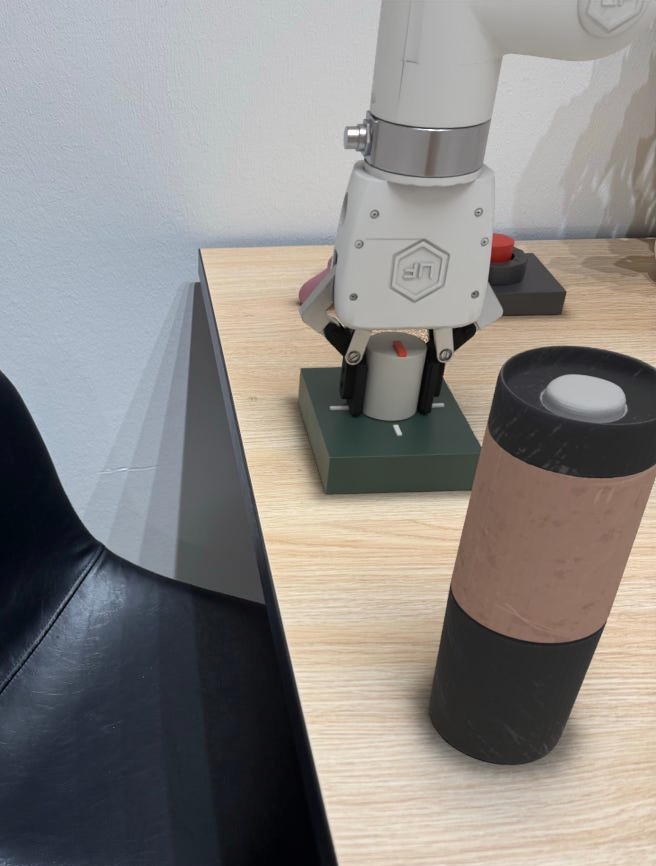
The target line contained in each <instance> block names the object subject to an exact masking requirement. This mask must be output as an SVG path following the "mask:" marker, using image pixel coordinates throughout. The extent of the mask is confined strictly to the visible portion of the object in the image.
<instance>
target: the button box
mask: <svg viewBox="0 0 656 866" xmlns="http://www.w3.org/2000/svg"><path fill="white" fill-rule="evenodd" d="M488 282H489V284H490V286H491V288H492V290H493V291H494V293H495V295H496V297H497V299H498V301H499V303H500V304H501V306H502V308H503V314H502V316H536V315H562V313H563V309H564V305H565V301H566V297H567V293H568V290H566V289H565V288H564V286H563V285H562V284H561V283H560V282H559V281H558V279H557V278H556V277H555V276H554V275H553V274H552V273H551V272H550V270H549V269H548V268H547V267H546V265H545V264H543V262H542V261H541V260H540V259H539V257H538V256H537V255H536V254H535V253H534V252H525V251H524V250H523V249H521V248H518V247H515V246H514V248H513V252H512V257H511V260H510V261H506V262H490V267H489V275H488Z"/></svg>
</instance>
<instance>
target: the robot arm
mask: <svg viewBox="0 0 656 866" xmlns="http://www.w3.org/2000/svg"><path fill="white" fill-rule="evenodd" d="M380 3H381V4H380V12H379V21H378V29H377V30H378V31H377V37H376V38H377V39H376V49H375V57H374V66H373V76H372V85H371V94H370V101H369V102H370V103H369V109H368V110H366V114H365V118H363V119H362V123H357V124H356V125H349V126H345V127H344V131H343V148H344V150H355V152H357V153H359V152H360V153H361V155H362V157H363V159H360V160H357V161H356V162H355V163H354V164H353V167H352V170H351V173H350V176H349V179H348V183H347V186H346V189H345V193H344V197H343V201H342V205H341V209H340V214H339V219H338V223H337V227H336V234H335V240H334V244H333V251H332V255H333V256H331V257H332V262H331V270H330V271H329V272H328V273H327V275H326V276H325V277H324V278H323V280H322V281H321V282H320V283H319V284H318V286H317V287H316V288H315V289H314V291H313V292H312V293H311V294H310V295H309V297H308V298H307V299H306V300H305V302H304V303H303V304H302V303H301V305H300V307H299V308H298V309H299V310H298V312H299V315H300V318H301V321H302V322H303V323H304V324H305V325H306V326H308V327H309V328H311V329H313V331H315V332H316V333H318V334H320V335H321V336H323V337H324V338H325V339H326V341H327V342H328V343H329V344H330V345H331V346H332V347H333V348H334V349H335V350H336V351H337V352H338V353H339V354H340V356H342V360H341V367H342V368H341V377H340V386H339V392H340V397H341V399H346V401H347V403H348V406H349V409H350V411H351V414H352V415H360V413H362V411H363V404H364V396H365V388H366V381H367V373H368V365H367V363H366V361H365V359H364V356H365V354H364V352H365V349H366V346H367V344H368V341H369V338H370V336H371V335H372V332H373V331H406V330H407V331H408V330H409V331H410V330H426V332H427V333H426V334H427V341H425V343H426V345H427V351H426V357H425V363H424V369H423V375H422V381H421V387H420V393H419V399H418V405H417V406H418V408H419V410H420V411H422V413H431V409H432V404H433V398H434V397H439V395H440V391H441V386H442V380H443V378H444V375H445V369H446V364H447V363H448V362H451V361H452V360H453V358H454V356H455V352H456V351H458V350H459V349H460V348H461V347H463V346H464V345H465V344H466V343H467V342H469V341H470V340H471V339H472V338H473V337H474V336H475V335H476V334H477V332H478V331H481V330H484V329H485V328H486V327H488V326H489V325H491V324H493V323H494V322H495V321H497V320H499V319H501V317H502V316H503V315H502V314H503V308H502V306H501V304H500V303H499V301H498V299H497V297H496V295H495V293H494V291H493V290H492V288H491V286H490V284H489V282H488V275H489V267H490V257H491V248H492V237H493V233H494V222H495V208H496V207H495V206H496V205H495V204H496V175H495V174H496V173H495V171H494V170H493V169H492V168H490V167H489V166H488V165H486V164H485V163H484V161H485V160H484V159H485V155H486V150H487V144H488V139H489V135H490V129H491V123H492V117H493V113H494V106H495V103H496V95H497V91H498V85H499V79H500V74H501V69H502V63H503V57H504V56H506V55H511V54H512V55H521V56H531V57H537V58H545V59H550V60H557V61H566V62H589V61H595V60H600V59H603V58H607V57H609V56H611V55H614V54H616V53H618V52H620V51H622V50H624V49H626V48H627V47H629V46H630V45H631V44H633V43H634V42H635V41H636V40H637V39H639V38H640V37H641V36H642V35H643V34H644V33H645V32H646V31H647V30H648V29H649V28H650V26H651V25H652V24H653V22H655V19H656V0H381V2H380ZM332 304H334V312H335V315H336V317H337V318H336V317H333V316H331V315H330V314H329V313H328V312H327V310H328V309H329V308H330V307H331V305H332Z"/></svg>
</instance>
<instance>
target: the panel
mask: <svg viewBox="0 0 656 866" xmlns="http://www.w3.org/2000/svg"><path fill="white" fill-rule="evenodd" d="M341 368H342V366H326V367H325V366H324V367H323V366H322V367H321V366H320V367H300V370H299V383H298V394H297V404H298V408H299V410H300V414H301V417H302V420H303V423H304V426H305V430H306V433H307V436H308V439H309V443H310V446H311V449H312V452H313V456H314V458H315V462H316V466H317V469H318V472H319V476H320V478H321V482H322V485H323V489H324V492H325V494H326V495H336V494H337V495H338V494H340V495H342V494H343V495H344V494H370V493H371V494H373V493H406V492H407V493H408V492H409V493H410V492H436V491H437V492H439V491H441V492H442V491H472V487H473V482H474V478H475V474H476V469H477V465H478V461H479V456H480V452H481V448H482V444H481V443H480V442H479V440H478V438H477V436H476V434H475V432H474V431H473V429H472V427H471V425H470V424H469V421H468V420H467V418H466V416H465V414H464V413H463V411H462V408H461V407H460V406H459V404H458V401H457V400H456V397H454V394H453V392H452V391H451V389H450V387H449V386H448V384H447V382H446V380H445V378H444V377H443V380H442V386H441V391H440V395H439V397H434V398H433V404H432V409H431V413H422V411H420V410H419V408H418V406H417V411H416V413H415V414H414V415H413V416H411V417H410V418H407V419H404V420H398V421H385V420H378V419H374V418H371V417H369V416H367V415H365V414H364V413H360V415H352V414H351V411H350V409H349V406H348V403H347V401H346V399H341V397H340V392H339V386H340V377H341Z"/></svg>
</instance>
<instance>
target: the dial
mask: <svg viewBox="0 0 656 866" xmlns="http://www.w3.org/2000/svg"><path fill="white" fill-rule="evenodd" d="M426 351H427V345H426V341H425V340H424V339H422V338H420V337H419V336H417V335H415V334H411V333H406V332H402V331H382V332H377V333H373V334H371V336H370V338H369V341H368V344H367V346H366V349H365V352H364V354H365V356H364V359H365V361H366V363H367V365H368V373H367V381H366V388H365V396H364V404H363V411H362V413H364V414H365V415H367V416H369V417H371V418H374V419H378V420H385V421H398V420H404V419H407V418H410V417H411V416H413V415H414V414H415V413H416V411H417V405H418V399H419V393H420V387H421V381H422V375H423V369H424V363H425V357H426Z"/></svg>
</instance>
